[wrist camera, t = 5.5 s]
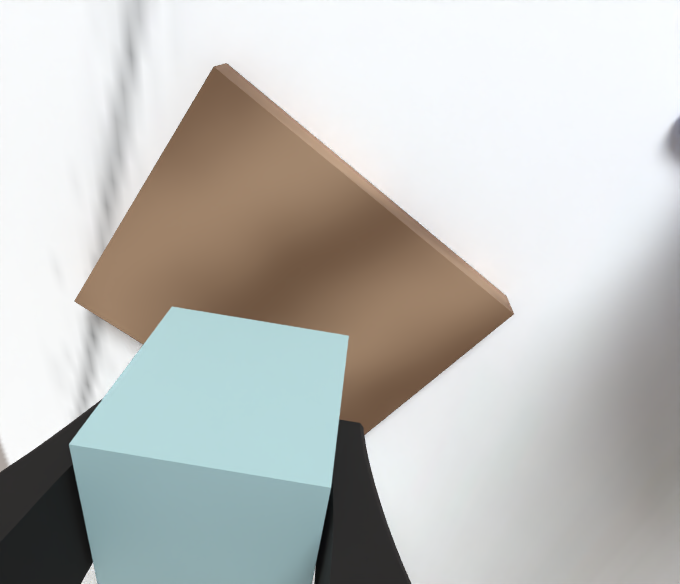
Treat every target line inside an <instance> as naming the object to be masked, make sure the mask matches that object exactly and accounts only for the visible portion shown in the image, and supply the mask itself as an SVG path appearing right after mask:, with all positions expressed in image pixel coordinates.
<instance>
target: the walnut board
mask: <svg viewBox="0 0 680 584" xmlns="http://www.w3.org/2000/svg"><path fill="white" fill-rule="evenodd" d="M75 302H76V303H78V304H79V305H81V306H83V307H84V308H86V309H87V310H89V311H91V312H92V313H94V314H95V315H97V316H99V317H100V318H102V319H103V320H105V321H107V322H108V323H110V324H111V325H113V326H115V327H116V328H118V329H120V330H121V331H123V332H124V333H126V334H128V335H129V336H131V337H132V338H134V339H136V340H137V341H139V342H140V343H142V344H144V343H145V342H146V340H147V339H148V338H149V336H150V335H151V334H152V332H153V331H154V330H155V328H156V327H157V326H158V324H159V323H160V322H161V320H162V319H163V318H164V316H165V315H166V314H167V312H168V311H169V310H170V308H171V307H178V308H184V309H190V310H196V311H202V312H208V313H214V314H221V315H227V316H233V317H239V318H245V319H251V320H257V321H263V322H269V323H275V324H281V325H287V326H293V327H299V328H305V329H311V330H317V331H323V332H330V333H336V334H342V335H348V336H349V339H348V347H347V356H346V364H345V373H344V381H343V390H342V398H341V407H340V415H339V419H340V420H346V421H352V422H358V423H361V425H362V426H363V427H364V435H365V434H366V433H367V432H369V431H370V430H371V429H372V428H374V427H375V426H376V425H377V424H379V423H380V422H381V421H382V420H384V419H385V418H386V417H387V416H388V415H390V414H391V413H392V412H393V411H395V410H396V409H397V408H398V407H400V406H401V405H402V404H403V403H405V402H406V401H407V400H408V399H410V398H411V397H412V396H413V395H414V394H416V393H417V392H418V391H419V390H421V389H422V388H423V387H424V386H426V385H427V384H428V383H429V382H431V381H432V380H433V379H434V378H435V377H437V376H438V375H439V374H440V373H442V372H443V371H444V370H445V369H447V368H448V367H449V366H450V365H452V364H453V363H454V362H455V361H456V360H458V359H459V358H460V357H461V356H463V355H464V354H465V353H466V352H468V351H469V350H470V349H471V348H473V347H474V346H475V345H476V344H477V343H479V342H480V341H481V340H482V339H484V338H485V337H486V336H487V335H489V334H490V333H491V332H492V331H494V330H495V329H496V328H497V327H498V326H500V325H501V324H502V323H503V322H505V321H506V320H507V319H508V318H510V317H511V316H512V315H513V314H514V313H513V310H512V308H511V306H510V303H509V301H508V299H507V296H506V295H504V294H503V293H502V292H501V291H500V290H498V289H497V288H496V287H495V286H494V285H492V284H491V283H490V282H489V281H488V280H486V279H485V278H484V277H483V276H482V275H480V274H479V273H478V272H477V271H476V270H474V269H473V268H472V267H471V266H470V265H468V264H467V263H466V262H465V261H464V260H462V259H461V258H460V257H459V256H458V255H456V254H455V253H454V252H453V251H452V250H450V249H449V248H448V247H447V246H446V245H444V244H443V243H442V242H441V241H440V240H438V239H437V238H436V237H435V236H434V235H432V234H431V233H430V232H429V231H428V230H426V229H425V228H424V227H423V226H422V225H420V224H419V223H418V222H417V221H416V220H414V219H413V218H412V217H411V216H410V215H408V214H407V213H406V212H405V211H404V210H402V209H401V208H400V207H399V206H398V205H396V204H395V203H394V202H393V201H391V200H390V199H389V198H388V197H387V196H385V195H384V194H383V193H382V192H381V191H379V190H378V189H377V188H376V187H375V186H373V185H372V184H371V183H370V182H369V181H367V180H366V179H365V178H364V177H363V176H361V175H360V174H359V173H358V172H357V171H355V170H354V169H353V168H352V167H351V166H349V165H348V164H347V163H346V162H345V161H343V160H342V159H341V158H340V157H339V156H337V155H336V154H335V153H334V152H333V151H331V150H330V149H329V148H328V147H327V146H325V145H324V144H323V143H322V142H321V141H319V140H318V139H317V138H316V137H315V136H313V135H312V134H311V133H310V132H309V131H307V130H306V129H305V128H304V127H303V126H301V125H300V124H299V123H298V122H297V121H295V120H294V119H293V118H292V117H291V116H289V115H288V114H287V113H286V112H285V111H283V110H282V109H281V108H280V107H279V106H277V105H276V104H275V103H274V102H273V101H271V100H270V99H269V98H268V97H267V96H265V95H264V94H263V93H262V92H261V91H259V90H258V89H257V88H256V87H255V86H253V85H252V84H251V83H250V82H249V81H247V80H246V79H245V78H244V77H243V76H241V75H240V74H239V73H238V72H237V71H235V70H234V69H233V68H232V67H231V66H229V65H228V64H227V63H225V64H222V65H218V66H214V67H213V69H212V70H211V72H210V74H209V75H208V77H207V79H206V81H205V82H204V84H203V86H202V87H201V89H200V91H199V92H198V94H197V96H196V97H195V99H194V101H193V102H192V104H191V106H190V107H189V109H188V111H187V112H186V114H185V116H184V118H183V119H182V121H181V123H180V124H179V126H178V128H177V129H176V131H175V133H174V134H173V136H172V138H171V139H170V141H169V143H168V144H167V146H166V148H165V149H164V151H163V153H162V155H161V156H160V158H159V160H158V161H157V163H156V165H155V166H154V168H153V170H152V171H151V173H150V175H149V176H148V178H147V180H146V181H145V183H144V185H143V186H142V188H141V190H140V192H139V193H138V195H137V197H136V198H135V200H134V202H133V203H132V205H131V207H130V208H129V210H128V212H127V213H126V215H125V217H124V218H123V220H122V222H121V223H120V225H119V227H118V229H117V230H116V232H115V234H114V235H113V237H112V239H111V240H110V242H109V244H108V245H107V247H106V249H105V250H104V252H103V254H102V255H101V257H100V259H99V260H98V262H97V264H96V266H95V267H94V269H93V271H92V272H91V274H90V276H89V277H88V279H87V281H86V282H85V284H84V286H83V287H82V289H81V291H80V292H79V294H78V296H77V297H76V299H75Z"/></svg>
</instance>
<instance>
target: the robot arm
mask: <svg viewBox="0 0 680 584" xmlns="http://www.w3.org/2000/svg"><path fill="white" fill-rule="evenodd" d="M101 401H102V399H101V400H100V401H99V402H98V403H96V404H95V405H94V406H92V407H91V408H90V409H88V410H87V411H86V412H84V413H83V414H82V415H80V416H79V417H78V418H77V419H75V420H74V421H73V422H71V423H70V424H69V425H67V426H66V427H64V428H63V429H62V430H60V431H59V432H58V433H56V434H55V435H53V436H52V437H51V438H49V439H48V440H47V441H45V442H44V443H42V444H41V445H40V446H38V447H37V448H35V449H34V450H33V451H31V452H30V453H28V454H27V455H25V456H24V457H22V458H21V459H19V460H18V461H16V462H15V463H13V464H12V465H10V466H9V467H7V468H6V469H4V470H3V471H1V472H0V584H81V583H82V581H83V579H84V577H85V575H86V574H87V572H88V570H89V568H90V567H91V565H92V563H93V559H92V554H91V549H90V544H89V540H88V535H87V530H86V525H85V520H84V515H83V510H82V506H81V501H80V496H79V491H78V486H77V481H76V477H75V472H74V467H73V462H72V457H71V452H70V447H69V443H70V442H71V441H72V439H73V438H74V437H75V435H76V434H77V433H78V431H79V430H80V429H81V427H82V426H83V425H84V423H85V422H86V421H87V419H88V418H89V417H90V415H91V414H92V413H93V411H94V410H95V409H96V407H97V406H98V405H99V403H100V402H101ZM315 584H411V582H410V580H409V577H408V575H407V573H406V571H405V568H404V566H403V563H402V561H401V558H400V556H399V553H398V551H397V548H396V546H395V543H394V540H393V538H392V535H391V532H390V530H389V527H388V524H387V521H386V518H385V515H384V512H383V509H382V506H381V503H380V499H379V496H378V493H377V490H376V486H375V483H374V479H373V475H372V472H371V467H370V463H369V459H368V454H367V449H366V444H365V437H364V427H363V426H362V425H361V423H358V422H352V421H346V420H340V419H339V424H338V433H337V441H336V450H335V458H334V467H333V475H332V484H331V490H330V495H329V500H328V505H327V510H326V515H325V520H324V525H323V530H322V535H321V540H320V545H319V550H318V555H317V560H316V568H315Z"/></svg>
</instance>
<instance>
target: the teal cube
mask: <svg viewBox="0 0 680 584" xmlns="http://www.w3.org/2000/svg"><path fill="white" fill-rule="evenodd" d="M348 339H349V336H348V335H342V334H336V333H330V332H323V331H317V330H311V329H305V328H299V327H293V326H287V325H281V324H275V323H269V322H263V321H257V320H251V319H245V318H239V317H233V316H227V315H221V314H214V313H208V312H202V311H196V310H190V309H184V308H178V307H171V308H170V310H169V311H168V312H167V314H166V315H165V316H164V318H163V319H162V320H161V322H160V323H159V324H158V326H157V327H156V328H155V330H154V331H153V332H152V334H151V335H150V336H149V338H148V339H147V340H146V342H145V343H144V344H143V346H142V347H141V349H140V350H139V351H138V353H137V354H136V355H135V357H134V358H133V359H132V361H131V362H130V363H129V365H128V366H127V367H126V369H125V370H124V371H123V373H122V374H121V375H120V377H119V378H118V379H117V381H116V382H115V383H114V385H113V386H112V387H111V389H110V390H109V391H108V393H107V394H106V395H105V397H104V398H103V399H102V401H101V402H100V403H99V405H98V406H97V407H96V409H95V410H94V411H93V413H92V414H91V415H90V417H89V418H88V419H87V421H86V422H85V423H84V425H83V426H82V427H81V429H80V430H79V431H78V433H77V434H76V435H75V437H74V438H73V439H72V441H71V442H70V443H69V447H70V452H71V457H72V462H73V467H74V472H75V477H76V481H77V486H78V491H79V496H80V501H81V506H82V510H83V515H84V520H85V525H86V530H87V535H88V540H89V544H90V549H91V554H92V559H93V564H94V569H95V573H96V578H97V583H98V584H312V580H313V575H314V570H315V565H316V560H317V555H318V550H319V545H320V540H321V535H322V530H323V525H324V520H325V515H326V510H327V505H328V500H329V495H330V490H331V484H332V475H333V467H334V458H335V450H336V441H337V433H338V424H339V415H340V407H341V398H342V390H343V381H344V373H345V364H346V356H347V347H348Z"/></svg>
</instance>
